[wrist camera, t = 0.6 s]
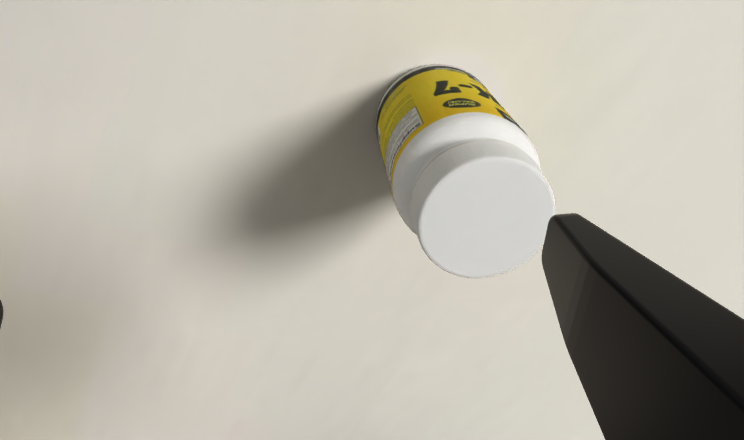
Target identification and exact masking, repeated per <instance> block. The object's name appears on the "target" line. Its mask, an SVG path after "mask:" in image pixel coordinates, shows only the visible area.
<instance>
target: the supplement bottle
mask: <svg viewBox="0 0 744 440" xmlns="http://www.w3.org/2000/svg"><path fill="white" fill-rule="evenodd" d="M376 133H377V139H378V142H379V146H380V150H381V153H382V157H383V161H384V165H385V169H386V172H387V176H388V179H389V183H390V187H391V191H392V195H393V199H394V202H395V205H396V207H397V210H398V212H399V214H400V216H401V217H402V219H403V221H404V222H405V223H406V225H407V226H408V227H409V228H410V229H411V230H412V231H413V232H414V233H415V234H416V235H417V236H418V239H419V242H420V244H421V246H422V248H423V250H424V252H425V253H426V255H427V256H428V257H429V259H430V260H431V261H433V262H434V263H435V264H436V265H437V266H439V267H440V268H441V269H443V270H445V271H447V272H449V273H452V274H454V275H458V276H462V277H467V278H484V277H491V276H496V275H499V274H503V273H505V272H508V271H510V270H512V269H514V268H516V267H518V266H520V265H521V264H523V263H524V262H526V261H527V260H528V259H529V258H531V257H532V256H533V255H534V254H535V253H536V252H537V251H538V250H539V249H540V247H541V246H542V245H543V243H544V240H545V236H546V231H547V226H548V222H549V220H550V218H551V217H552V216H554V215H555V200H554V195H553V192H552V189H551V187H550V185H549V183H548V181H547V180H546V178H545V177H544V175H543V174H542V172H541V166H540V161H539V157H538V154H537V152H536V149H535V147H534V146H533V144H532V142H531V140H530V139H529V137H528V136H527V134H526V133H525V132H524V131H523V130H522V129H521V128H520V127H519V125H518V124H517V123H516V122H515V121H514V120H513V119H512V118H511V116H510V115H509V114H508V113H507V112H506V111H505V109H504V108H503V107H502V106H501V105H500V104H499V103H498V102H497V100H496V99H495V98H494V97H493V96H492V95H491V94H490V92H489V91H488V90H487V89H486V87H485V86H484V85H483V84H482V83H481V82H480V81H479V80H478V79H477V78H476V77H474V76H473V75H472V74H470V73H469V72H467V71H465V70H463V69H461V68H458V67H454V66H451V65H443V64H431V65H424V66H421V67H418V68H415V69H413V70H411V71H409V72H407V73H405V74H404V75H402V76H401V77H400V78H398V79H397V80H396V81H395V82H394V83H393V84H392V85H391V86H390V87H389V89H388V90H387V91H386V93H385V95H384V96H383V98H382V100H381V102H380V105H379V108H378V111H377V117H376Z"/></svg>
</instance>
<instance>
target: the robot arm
mask: <svg viewBox="0 0 744 440" xmlns="http://www.w3.org/2000/svg"><path fill="white" fill-rule="evenodd" d="M542 265H543V269H544V272H545V276H546V279H547V283H548V286H549V290H550V293H551V297H552V300H553V303H554V307H555V310H556V314H557V317H558V321H559V324H560V328H561V331H562V335H563V338H564V341H565V344H566V347H567V349H568V352H569V354H570V357H571V360H572V362H573V364H574V367H575V369H576V371H577V374H578V376H579V378H580V381H581V383H582V386H583V388H584V390H585V393H586V395H587V397H588V400H589V402H590V404H591V407H592V409H593V412H594V414H595V416H596V419H597V421H598V423H599V426H600V428H601V430H602V433H603V435H604V438H605V440H744V319H742V318H741V317H739V316H738V315H736V314H735V313H733V312H731V311H730V310H728V309H727V308H725V307H724V306H722V305H720V304H719V303H717V302H716V301H714V300H713V299H711V298H709V297H708V296H706V295H705V294H703V293H702V292H700V291H698V290H697V289H695V288H694V287H692V286H690V285H689V284H687V283H686V282H684V281H683V280H681V279H679V278H678V277H676V276H675V275H673V274H672V273H670V272H668V271H667V270H665V269H664V268H662V267H661V266H659V265H657V264H656V263H654V262H653V261H651V260H650V259H648V258H646V257H645V256H643V255H642V254H640V253H639V252H637V251H635V250H634V249H632V248H631V247H629V246H628V245H626V244H624V243H623V242H621V241H620V240H618V239H617V238H615V237H613V236H612V235H610V234H609V233H607V232H606V231H604V230H602V229H601V228H599V227H598V226H596V225H595V224H593V223H591V222H590V221H588V220H587V219H585V218H583V217H582V216H580V215H578V214H575V213H570V214H559V215H554V216H552V217H551V218H550V220H549V222H548V226H547V231H546V236H545V240H544V245H543V250H542ZM2 319H3V306H2V302H1V300H0V328H1V323H2Z"/></svg>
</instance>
